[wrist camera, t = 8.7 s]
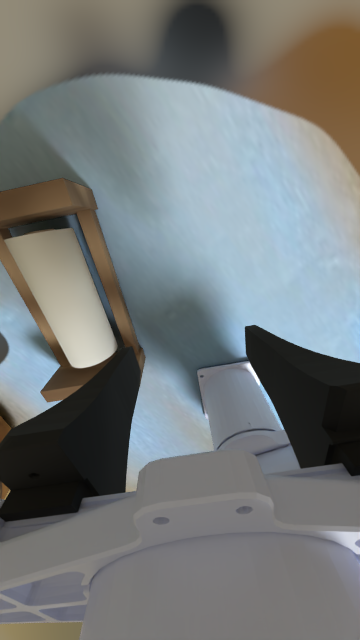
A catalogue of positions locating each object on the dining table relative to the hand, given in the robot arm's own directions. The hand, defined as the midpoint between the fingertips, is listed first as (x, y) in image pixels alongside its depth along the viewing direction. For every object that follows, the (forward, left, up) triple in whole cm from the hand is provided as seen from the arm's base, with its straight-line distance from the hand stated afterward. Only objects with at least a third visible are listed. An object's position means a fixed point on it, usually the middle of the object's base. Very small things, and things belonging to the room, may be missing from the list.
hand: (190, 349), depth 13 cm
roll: (+2, +11, -8) cm, 13 cm away
